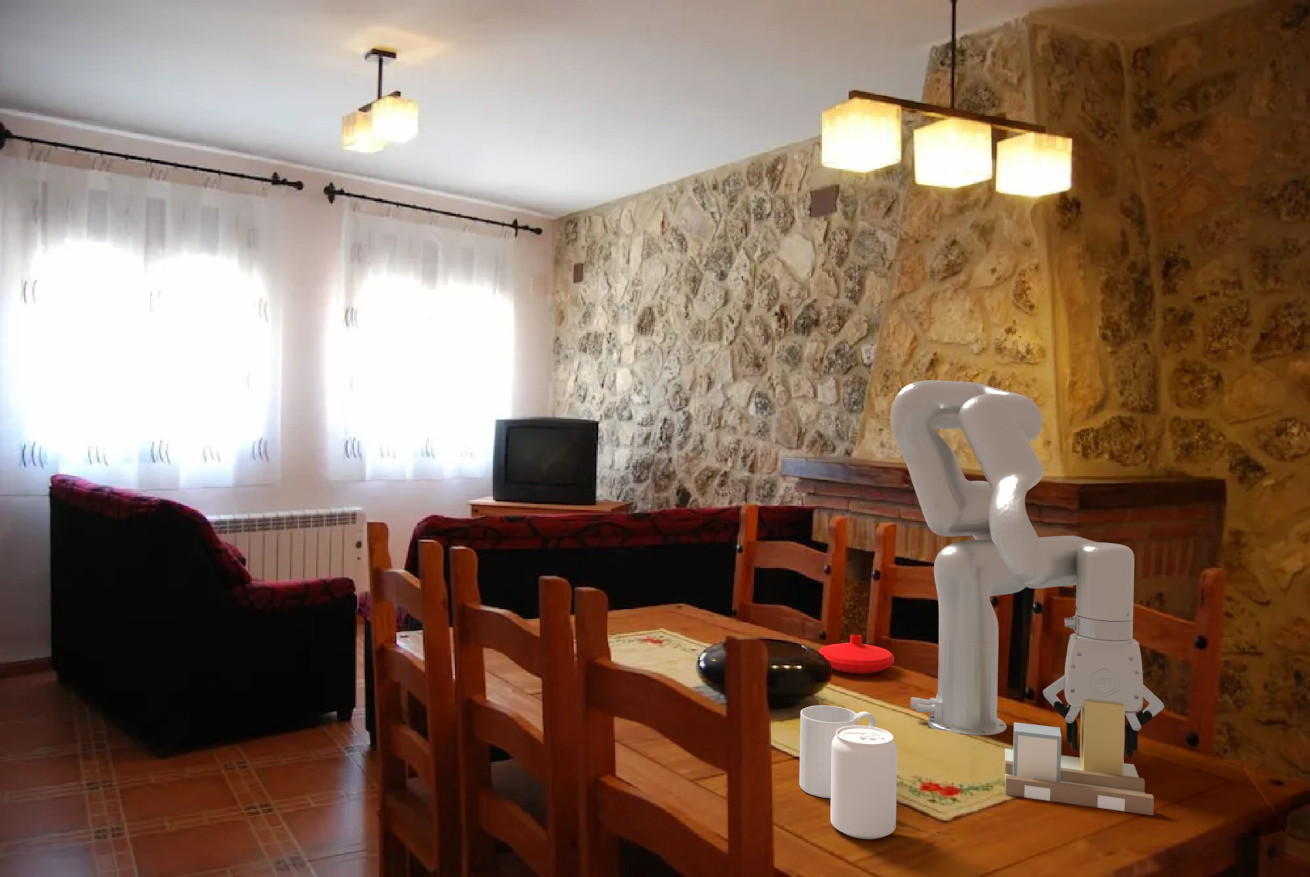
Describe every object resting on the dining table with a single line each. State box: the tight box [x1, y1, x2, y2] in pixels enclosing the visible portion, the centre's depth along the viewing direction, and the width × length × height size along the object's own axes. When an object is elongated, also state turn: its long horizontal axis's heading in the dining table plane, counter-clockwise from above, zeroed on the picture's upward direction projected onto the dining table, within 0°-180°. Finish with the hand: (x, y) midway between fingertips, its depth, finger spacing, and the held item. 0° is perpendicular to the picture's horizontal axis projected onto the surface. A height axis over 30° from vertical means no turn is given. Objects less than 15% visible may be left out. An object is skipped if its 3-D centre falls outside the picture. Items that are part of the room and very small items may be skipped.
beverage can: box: [830, 724, 898, 840], centre depth 119 cm, size 8×8×12 cm
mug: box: [798, 704, 877, 799], centre depth 133 cm, size 12×8×10 cm, turn 117°
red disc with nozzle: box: [818, 634, 895, 675], centre depth 196 cm, size 16×16×7 cm
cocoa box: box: [1012, 721, 1062, 782], centre depth 131 cm, size 6×4×8 cm
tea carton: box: [1079, 700, 1126, 776], centre depth 137 cm, size 7×5×11 cm
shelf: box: [1004, 748, 1155, 816], centre depth 134 cm, size 18×19×3 cm
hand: (1100, 750), depth 137 cm, fingers open, 6 cm apart
